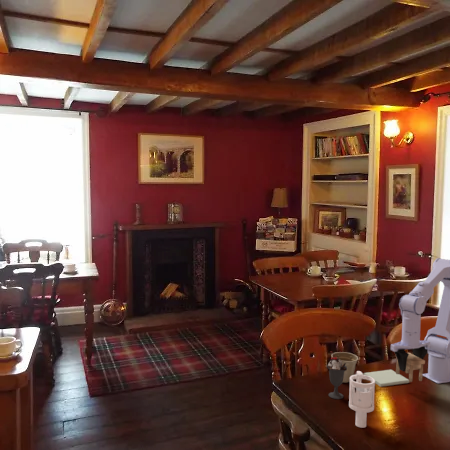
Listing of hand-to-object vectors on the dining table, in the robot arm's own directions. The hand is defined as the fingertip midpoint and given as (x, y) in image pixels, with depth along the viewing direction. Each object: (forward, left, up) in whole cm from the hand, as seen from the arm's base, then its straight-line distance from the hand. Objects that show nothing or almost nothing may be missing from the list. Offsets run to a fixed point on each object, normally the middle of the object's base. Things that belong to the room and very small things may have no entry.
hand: (409, 369), depth 156 cm
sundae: (+26, -4, -8) cm, 28 cm away
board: (+1, -11, -8) cm, 14 cm away
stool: (0, 0, -3) cm, 3 cm away
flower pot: (+16, -15, -8) cm, 23 cm away
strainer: (+29, +15, -8) cm, 34 cm away
